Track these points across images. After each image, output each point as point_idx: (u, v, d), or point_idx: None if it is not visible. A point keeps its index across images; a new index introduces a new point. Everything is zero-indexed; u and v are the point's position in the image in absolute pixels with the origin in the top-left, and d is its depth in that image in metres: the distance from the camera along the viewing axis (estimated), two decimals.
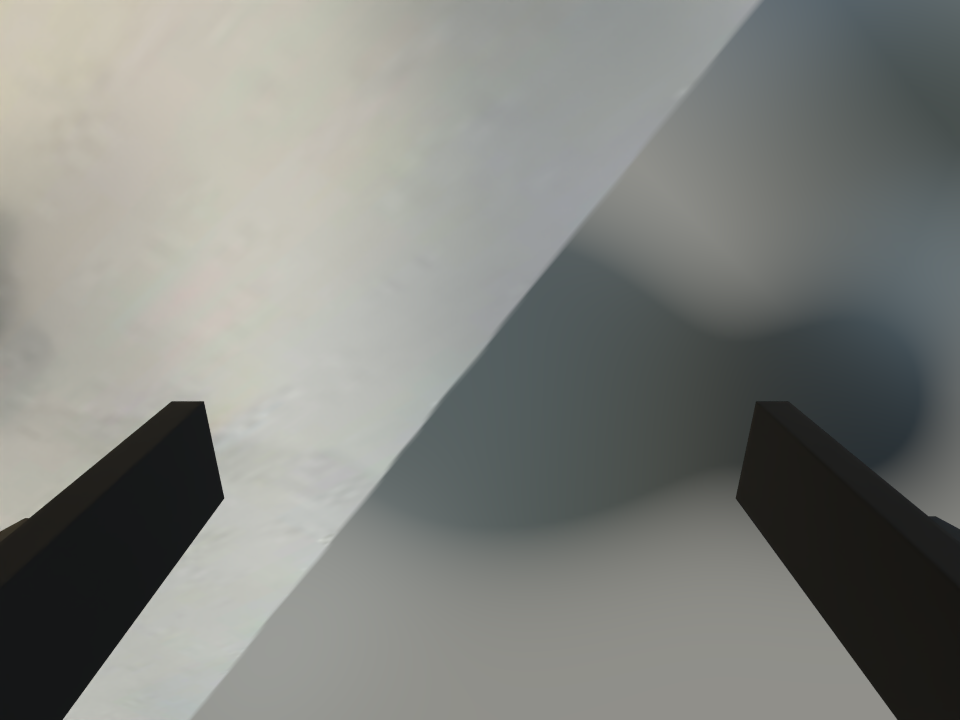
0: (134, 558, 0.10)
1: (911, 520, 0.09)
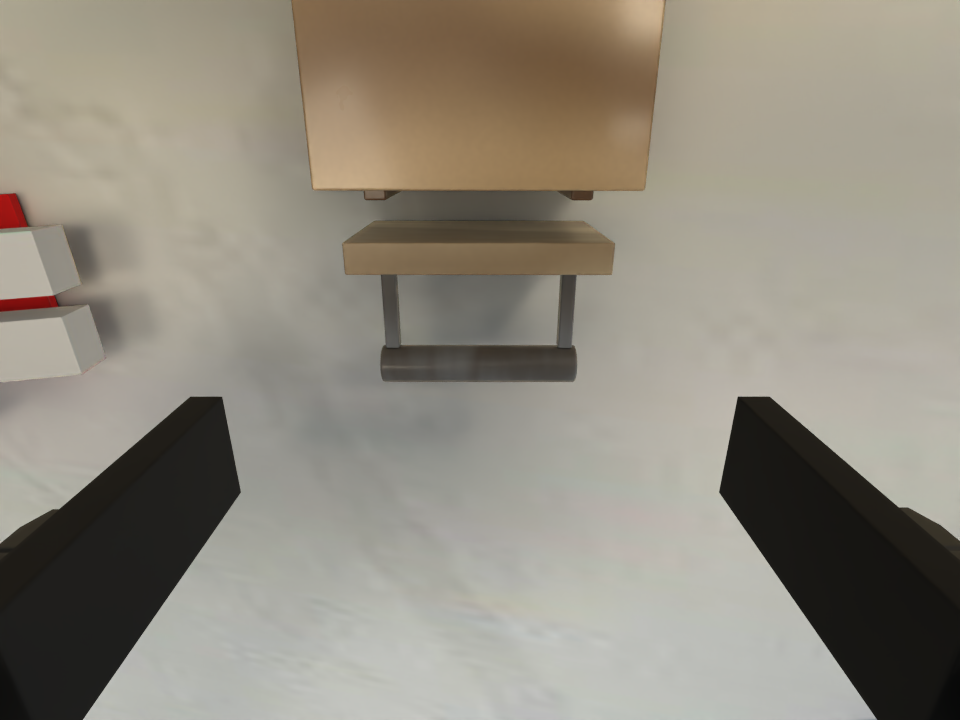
0: (159, 549, 0.10)
1: (880, 510, 0.09)
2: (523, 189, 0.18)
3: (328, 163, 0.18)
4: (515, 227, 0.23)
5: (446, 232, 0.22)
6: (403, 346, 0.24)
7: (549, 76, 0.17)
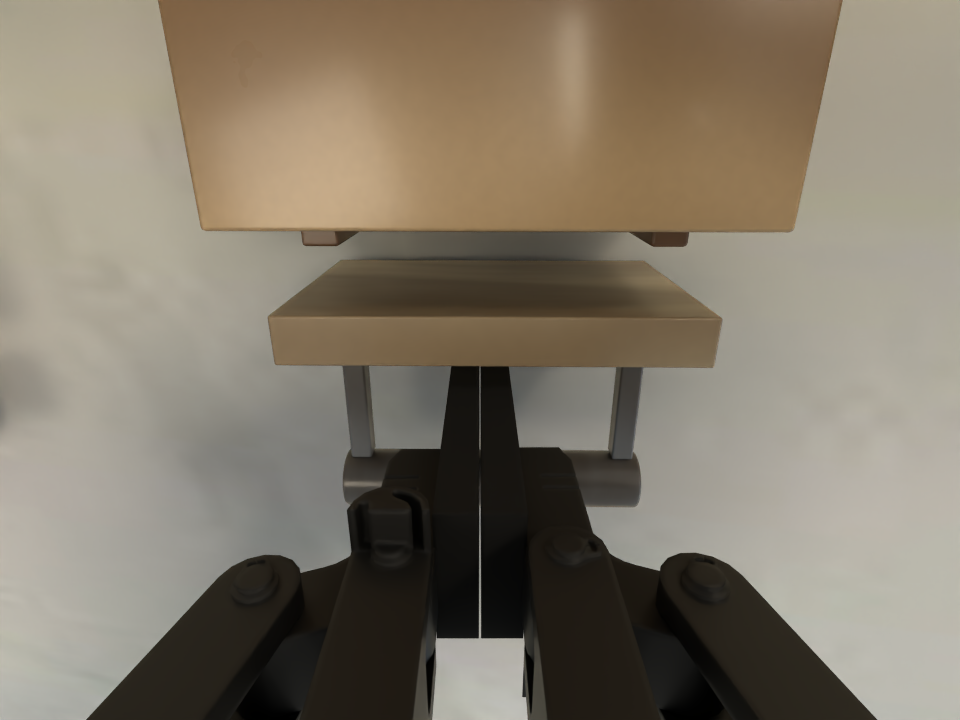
0: None
1: (502, 443, 0.11)
2: (575, 230, 0.10)
3: (226, 184, 0.10)
4: (547, 275, 0.15)
5: (442, 287, 0.14)
6: (378, 453, 0.16)
7: (631, 21, 0.09)
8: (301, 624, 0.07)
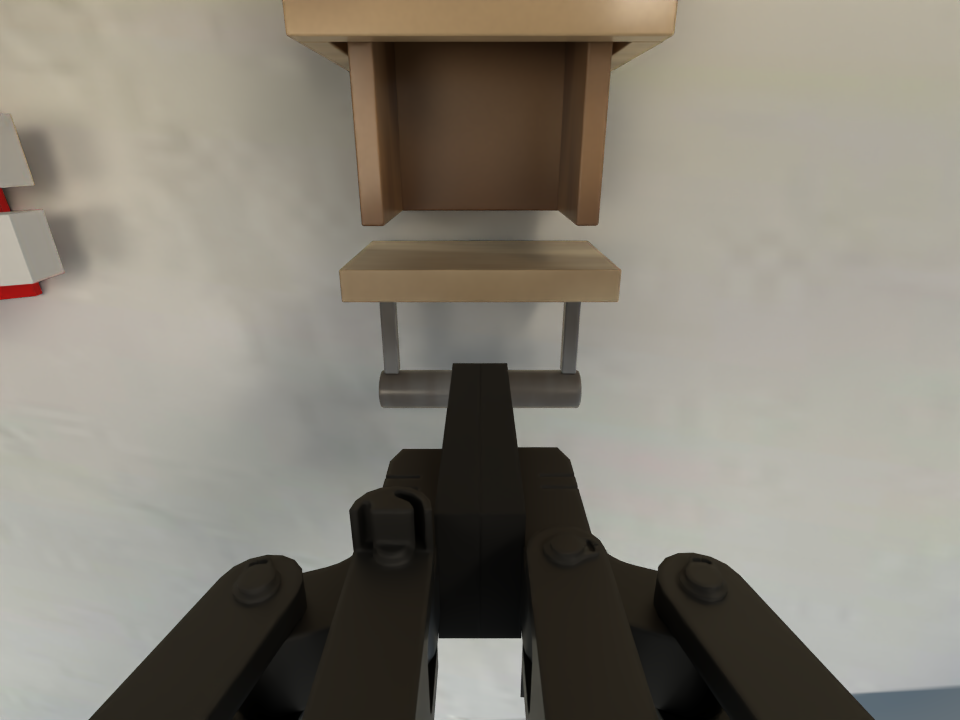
0: None
1: (500, 443, 0.11)
2: (532, 34, 0.15)
3: (305, 0, 0.15)
4: (517, 249, 0.23)
5: (446, 256, 0.21)
6: (402, 371, 0.23)
7: None
8: (303, 624, 0.07)
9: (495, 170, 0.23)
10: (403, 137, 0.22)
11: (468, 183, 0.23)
